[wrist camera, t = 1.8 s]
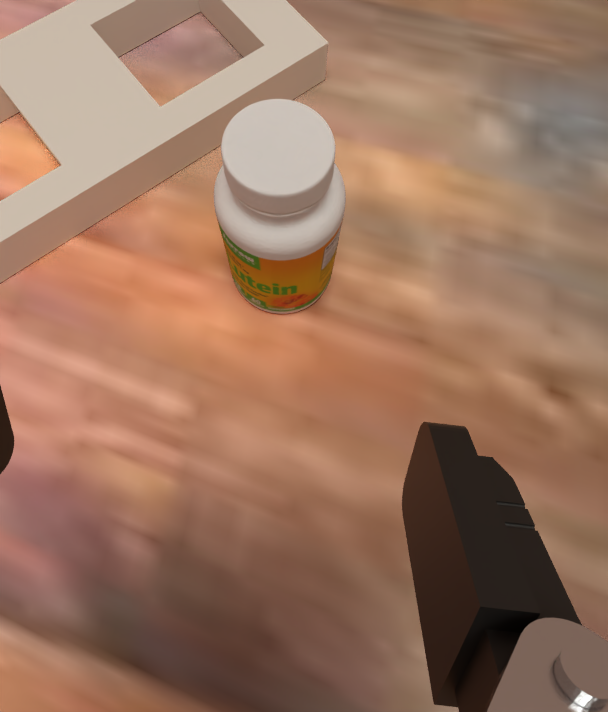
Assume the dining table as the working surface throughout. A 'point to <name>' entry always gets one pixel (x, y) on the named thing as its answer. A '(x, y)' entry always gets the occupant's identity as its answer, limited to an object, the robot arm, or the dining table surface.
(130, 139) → the socket rail
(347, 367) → the dining table surface
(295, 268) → the supplement bottle
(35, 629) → the dining table surface
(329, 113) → the dining table surface
